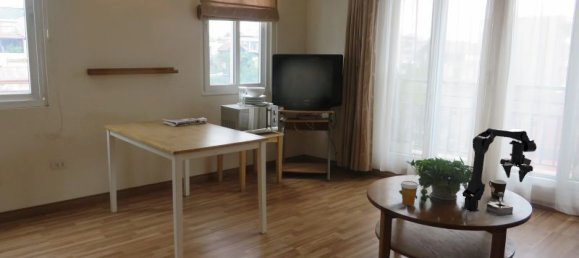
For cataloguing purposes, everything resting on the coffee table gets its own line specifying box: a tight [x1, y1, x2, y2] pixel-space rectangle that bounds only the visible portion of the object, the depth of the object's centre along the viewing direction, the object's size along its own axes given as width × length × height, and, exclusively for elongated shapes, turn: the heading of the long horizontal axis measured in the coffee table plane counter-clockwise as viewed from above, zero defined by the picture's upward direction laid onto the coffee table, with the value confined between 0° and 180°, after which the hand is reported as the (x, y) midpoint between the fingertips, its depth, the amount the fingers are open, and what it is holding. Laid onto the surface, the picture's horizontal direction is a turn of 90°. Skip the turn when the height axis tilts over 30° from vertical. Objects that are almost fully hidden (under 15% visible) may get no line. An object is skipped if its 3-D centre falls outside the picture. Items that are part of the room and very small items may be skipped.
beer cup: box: [400, 180, 419, 207], centre depth 262 cm, size 10×10×12 cm
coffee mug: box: [488, 179, 508, 201], centre depth 278 cm, size 12×9×10 cm
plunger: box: [498, 192, 505, 206], centre depth 251 cm, size 3×3×7 cm
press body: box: [485, 200, 514, 217], centre depth 253 cm, size 9×12×4 cm
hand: (514, 179), depth 262 cm, fingers open, 9 cm apart
